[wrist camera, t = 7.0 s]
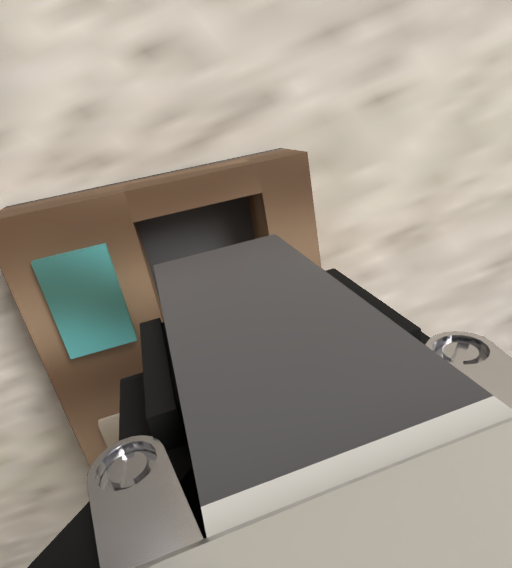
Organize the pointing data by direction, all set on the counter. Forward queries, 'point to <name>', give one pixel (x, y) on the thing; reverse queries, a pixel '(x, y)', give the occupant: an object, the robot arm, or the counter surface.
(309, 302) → the plug
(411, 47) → the counter surface
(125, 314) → the socket block
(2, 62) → the counter surface
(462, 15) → the counter surface
